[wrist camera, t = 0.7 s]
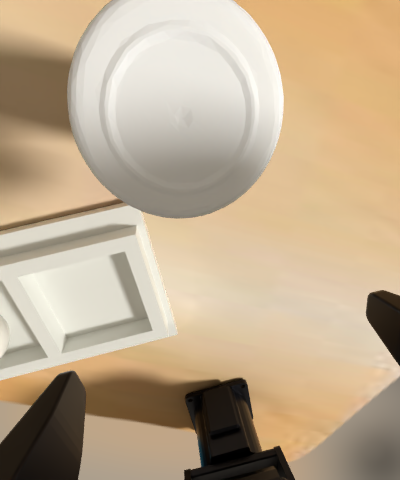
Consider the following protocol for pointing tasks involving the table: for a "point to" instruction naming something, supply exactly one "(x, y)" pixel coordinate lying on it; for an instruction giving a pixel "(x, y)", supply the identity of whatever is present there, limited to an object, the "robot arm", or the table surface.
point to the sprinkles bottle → (175, 103)
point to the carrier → (80, 289)
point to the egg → (4, 336)
